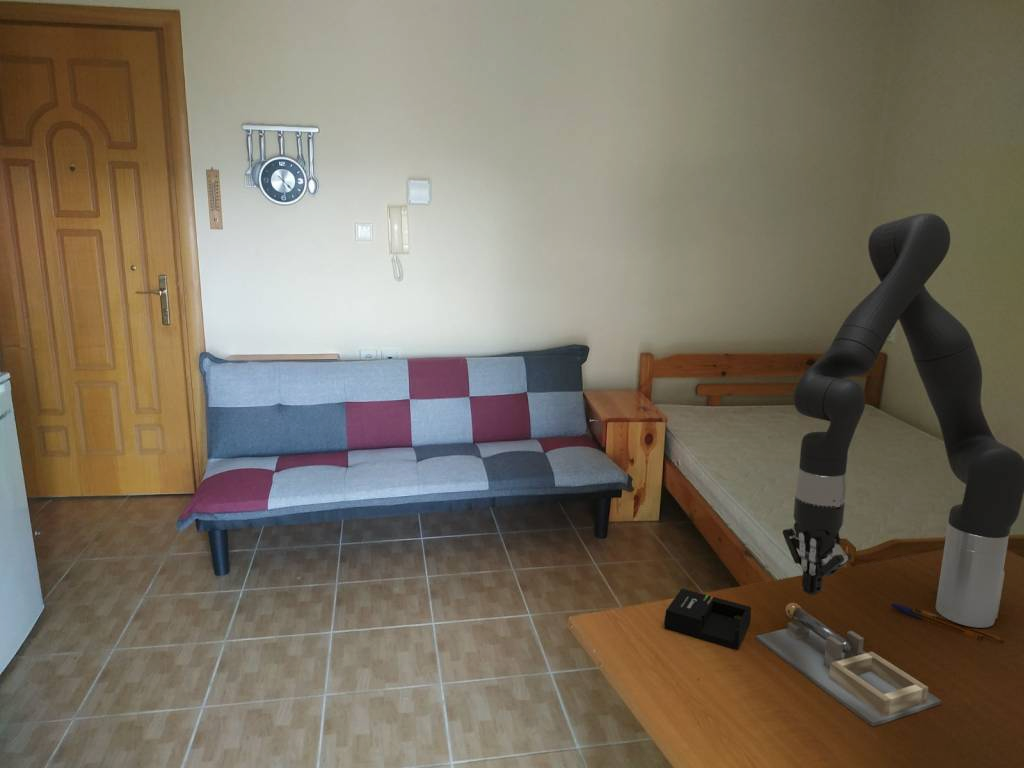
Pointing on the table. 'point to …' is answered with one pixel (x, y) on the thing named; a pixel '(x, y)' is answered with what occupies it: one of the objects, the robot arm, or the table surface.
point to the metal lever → (815, 625)
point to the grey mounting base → (851, 674)
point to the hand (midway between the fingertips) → (811, 592)
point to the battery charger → (708, 618)
